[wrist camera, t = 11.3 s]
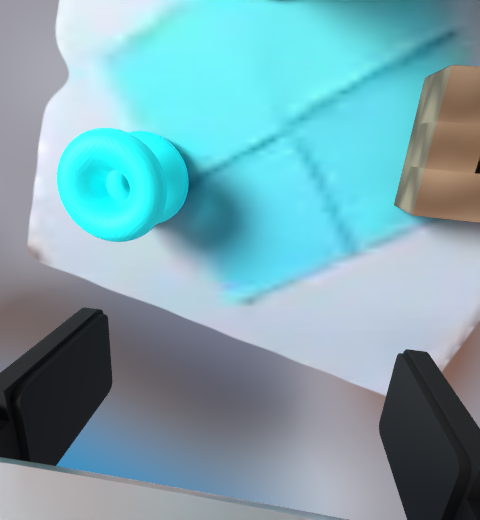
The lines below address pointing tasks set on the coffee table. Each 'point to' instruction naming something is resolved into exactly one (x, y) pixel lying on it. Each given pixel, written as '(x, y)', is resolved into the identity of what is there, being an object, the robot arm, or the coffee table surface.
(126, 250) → the coffee table surface
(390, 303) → the coffee table surface
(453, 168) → the bore block
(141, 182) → the cyan round grooved piece
